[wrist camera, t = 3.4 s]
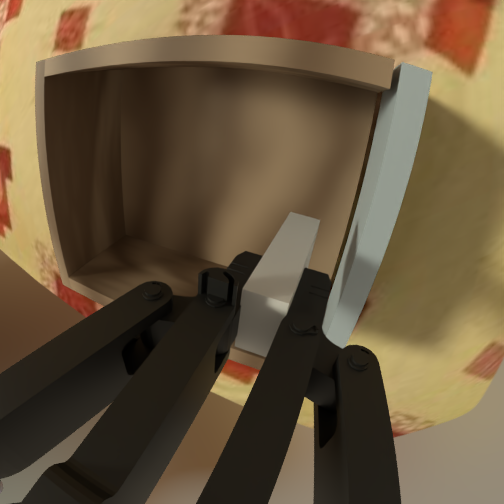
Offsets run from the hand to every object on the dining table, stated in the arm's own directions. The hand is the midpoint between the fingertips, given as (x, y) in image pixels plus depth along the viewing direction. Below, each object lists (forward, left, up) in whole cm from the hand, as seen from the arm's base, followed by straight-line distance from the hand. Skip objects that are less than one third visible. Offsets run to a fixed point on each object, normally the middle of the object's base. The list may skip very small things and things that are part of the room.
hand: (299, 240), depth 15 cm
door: (0, +4, -6) cm, 8 cm away
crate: (0, -8, -7) cm, 11 cm away
